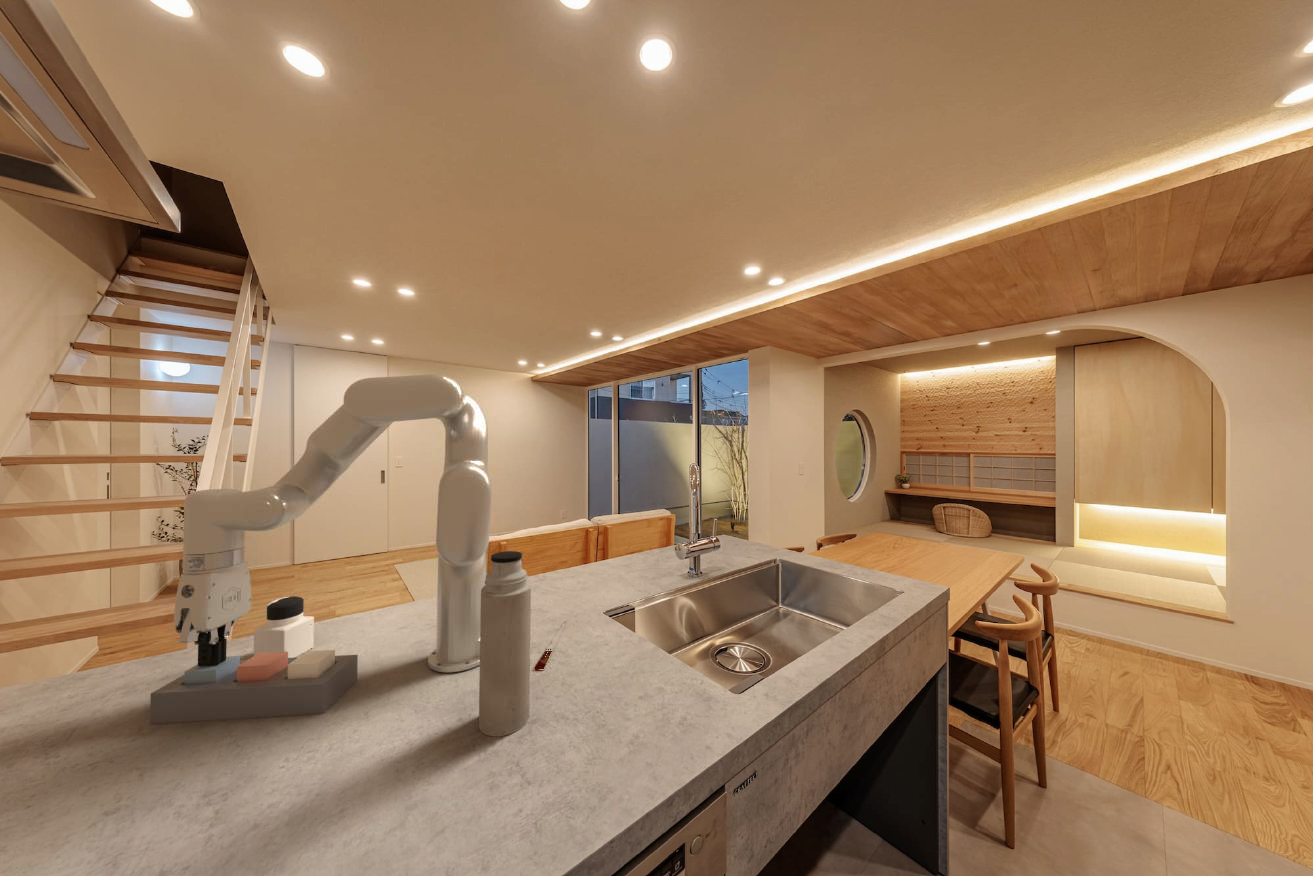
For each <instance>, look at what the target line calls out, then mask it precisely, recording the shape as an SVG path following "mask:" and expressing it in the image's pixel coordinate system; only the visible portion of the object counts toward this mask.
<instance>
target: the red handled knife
mask: <svg viewBox="0 0 1313 876" xmlns="http://www.w3.org/2000/svg"><path fill="white" fill-rule="evenodd" d="M545 650H547V648H546V649H545ZM545 650H544V652H543V654H542V655H541V657H540V658H539V659H538V661H537V663H536V664H535V666H534V667H533V670H534V669H535V670H538V669H544V670H545V668H546V666H547V664H548V662H549V660H550V658H549V656H550V654H551V652H552V651H545ZM548 650H549V649H548ZM550 650H551V649H550ZM547 652H548V653H547ZM552 653H553V652H552ZM546 654H547V655H546ZM551 655H552V654H551ZM545 656H546V657H545ZM550 657H551V656H550ZM548 659H549V660H548ZM547 661H548V662H547ZM546 663H547V664H546ZM545 665H546V666H545ZM544 667H545V668H544ZM538 671H539V670H538Z"/></svg>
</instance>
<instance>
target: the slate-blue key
mask: <svg viewBox="0 0 1313 876" xmlns="http://www.w3.org/2000/svg"><path fill="white" fill-rule="evenodd" d="M240 660H241V656H240V655H235V656H233V655H232V656H231V655H230V656H226V660H225V661H224V662H222V663H220V664H219V665H217V666H198V664H195V665H194V666H192V667H190V668H189V669H187V670H185V671H184V675H185V676H184V685H187V684H207V683H217V682H219V681H220V680H222V679H224V678H225V677H227V676H228V675H230V674H232V673H233V672H235V671H236V670H237V666H239V665H240Z"/></svg>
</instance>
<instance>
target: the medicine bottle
mask: <svg viewBox="0 0 1313 876" xmlns="http://www.w3.org/2000/svg"><path fill="white" fill-rule="evenodd" d="M304 603H305V601H304V598H303V597H300V596H295V595H293V596H284V597H279V598H277V599H274V600H272V601H271V602H269V603H268V604H267V605H266V611H265V612H266V614H265V615H266V617H265V618H266V623H264V624H261V625H259V626H257V627H255V628H254V630H253V656H255V655H257V654H258V653H266V652H288V658H297V657H299V656H301V655H302V654H304V653H305V652H306V651H308V650H309V651H311V650H312V649H314V643H315V642H314V639H315V616H313V615H312V616H311V615H310V616H309V615H308V616H307V615H304V607H305V606H304ZM310 624H312V625H310ZM294 627H295V628H294ZM311 648H312V649H311ZM310 649H311V650H310Z"/></svg>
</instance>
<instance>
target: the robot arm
mask: <svg viewBox="0 0 1313 876" xmlns="http://www.w3.org/2000/svg"><path fill="white" fill-rule="evenodd" d="M342 401H343V404H342V405H340V406H339V407H338V408H337V409H336V410H335V411H334V412H333V413H332V414H331V415H330V416H329V417H328V418H326V419H325V421H324V422H323V423H321V424H320V425H319V426H318V427H317V428H316V429H315V430H313V431H312V432H311V434H310V435H309V437H308V438H307V441H306V447H305V451H304V453H303V454H302V455H301V457H300V458H299V460H298V461H297V462H296V463H295V464H294V465H293V466H292V467H291V468H290V470H288V471H287V472H286V473H285V474H284V475H283V476H282V477H281V478H280V479H279V480H278V481H277V482H275V483H274V484H273V485H272V486H267V487H263V488H259V489H255V490H249V491H242V490H241V489H237V488H214V489H202V490H195V491H192V492H190V493H189V494H187V496H185V499H184V504H183V505H184V506H183V509H184V510H183V512H184V513H183V539H182V540H183V541H182V542H183V545H182V549H183V552H182V563H181V567H182V573H181V574H180V577H179V581H178V584H177V585H178V586H177V590H176V596H175V602H174V603H175V604H174V613H173V614H174V615H173V624H174V631H175V632H176V633H177V634H179V639H178V642H179V644H185V643H187V644H188V643H189V644H190V643H193V642H194V645H195V646H197V665H198V666H217V665H219V664H220V663H222V662H224V661H225V660H226V657H227V643H228V642H227V639H228V638H229V637H230V635H231V629H232V626H233V625H234V623H236V622H237V621H238V620H239V619H241V618H242V617H243V616H245V615H246V614H247V613H249V611H250V610H251V609H252V602H253V601H252V582H251V574H250V570H249V566H248V563H247V561H246V560H245V537H246V535H245V534H246V532H247V531H248V532H267V531H273V530H275V529H278V528H279V527H282V526H283V525H284V526H285V524H288V523H289V522H291V521H294V520H295V519H298V518H299V517H301V516H302V515H303V514H304V513H306V511H308V509H310V507H312V506H313V505H314V504H315V503H316V502H317V501H318V500H319V499H320V498H321V496H323V495H324V494H325V493H326V492H327V491H329V488H331V487H332V486H333V485H334V484H335V482H336V481H337V480H338V479H339V478H340V477H341V475H343V474H344V473H345V472H346V471H347V470H348V469H349V468H350V466H351V465H352V464H353V463H354V462H355V461H356V460H357V459H358V458H359V457H360V456H361V455H362V454H363V453H364V452H365V451H366V449H368V448H369V447H370V446H371V445H372V444H373V443H374V442H375V441H376V440H377V439H378V438H379V437H380V436H381V435H382V434H383V433H384V432H385V431H386V430H387V429H388V428H389V427H390V426H391V425H392V424H393V423H394V422H406V421H407V422H409V421H417V420H427V419H436V420H439V421H441V423H442V425H443V426H444V429H445V437H444V438H445V439H444V466H443V473H442V474H441V478H440V479H439V480H440V481H439V484H438V491H437V492H438V493H437V494H438V495H437V514H436V515H437V516H436V532H435V533H436V535H435V548H436V552H437V589H436V590H437V597H436V605H437V606H436V648H435V649H434V650H432V652H430V653H429V655H428V657H427V665H428V666H427V667H429V668H430V669H431V670H433V671H435V672H438V673H456V672H457V673H458V672H463V671H467V670H471V669H474V668H476V667H477V666H480V613H481V589H482V588H483V587H484V586H485V580H486V575H487V548H488V546H489V542H490V529H491V528H490V526H491V525H490V524H491V508H492V482H491V481H492V480H491V478H490V475H489V473H488V457H489V455H488V454H489V452H488V451H489V449H488V448H489V447H488V445H489V444H488V443H489V442H488V441H489V440H488V439H489V433H488V432H489V431H488V422H487V418H486V416H485V413H484V411H483V410H482V407H481V406H480V404H479V403H478V402H477V401H476V400H475V398H473V397H472V395H470V394H469V393H468V392H465V390H463V389H462V387H461V385H460V384H459V383H458V381H456V380H455V379H454V378H452V377H450V376H448V375H443V374H439V373H438V374H437V373H436V374H418V375H416V374H415V375H399V376H379V377H377V376H376V377H366V378H362V379H359V380H356V381H354V382H352V384H350V385H349V387H347V389H346V391H345V392H344V395H343V400H342Z"/></svg>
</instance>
